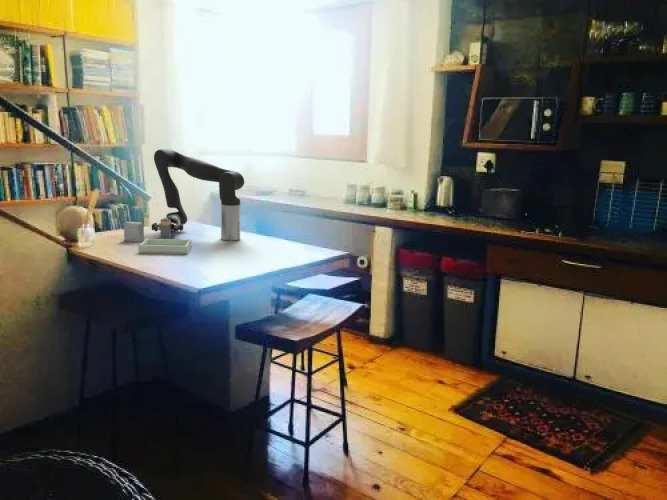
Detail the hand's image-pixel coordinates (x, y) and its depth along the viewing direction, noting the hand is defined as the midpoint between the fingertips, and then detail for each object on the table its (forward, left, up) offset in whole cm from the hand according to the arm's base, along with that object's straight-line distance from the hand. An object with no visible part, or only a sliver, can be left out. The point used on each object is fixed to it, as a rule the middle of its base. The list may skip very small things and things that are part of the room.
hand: (165, 229), depth 260 cm
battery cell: (0, -1, -7) cm, 7 cm away
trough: (-3, +15, -7) cm, 17 cm away
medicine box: (+15, -4, -7) cm, 17 cm away
